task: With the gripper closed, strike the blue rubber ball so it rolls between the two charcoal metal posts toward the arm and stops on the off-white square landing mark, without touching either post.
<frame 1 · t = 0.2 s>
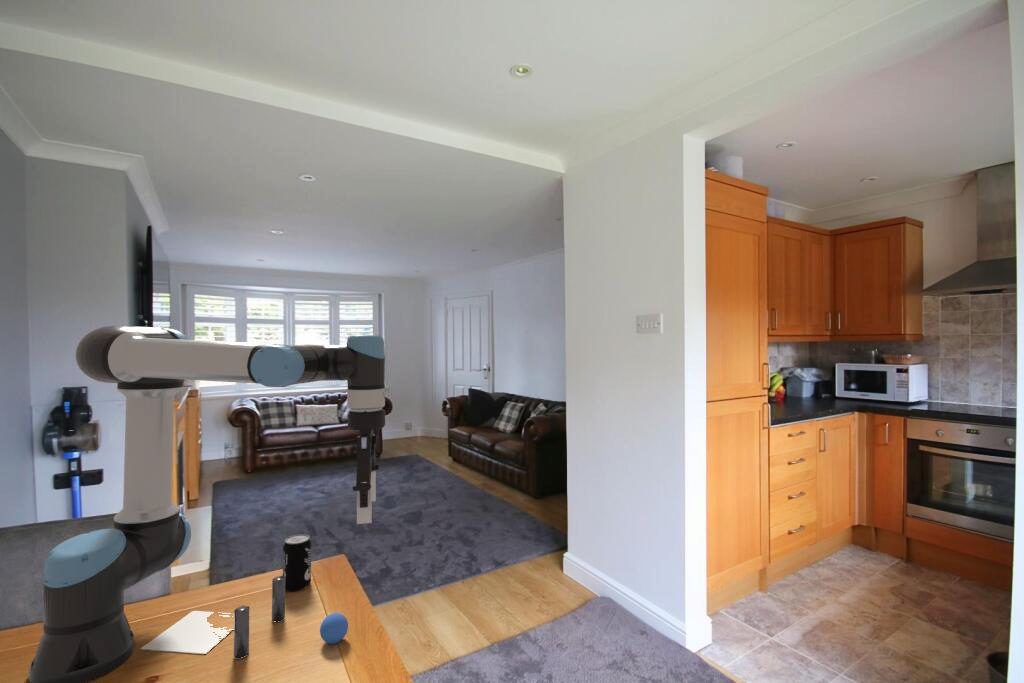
hand: (367, 511, 102), 27 cm above the table, tool pointing down, fingers open, 13 cm apart
landing mark: (198, 631, 104), on the table
post 1: (241, 654, 96), on the table
post 2: (278, 619, 109), on the table
beverage can: (296, 586, 124), on the table
ball: (334, 628, 101), on the table
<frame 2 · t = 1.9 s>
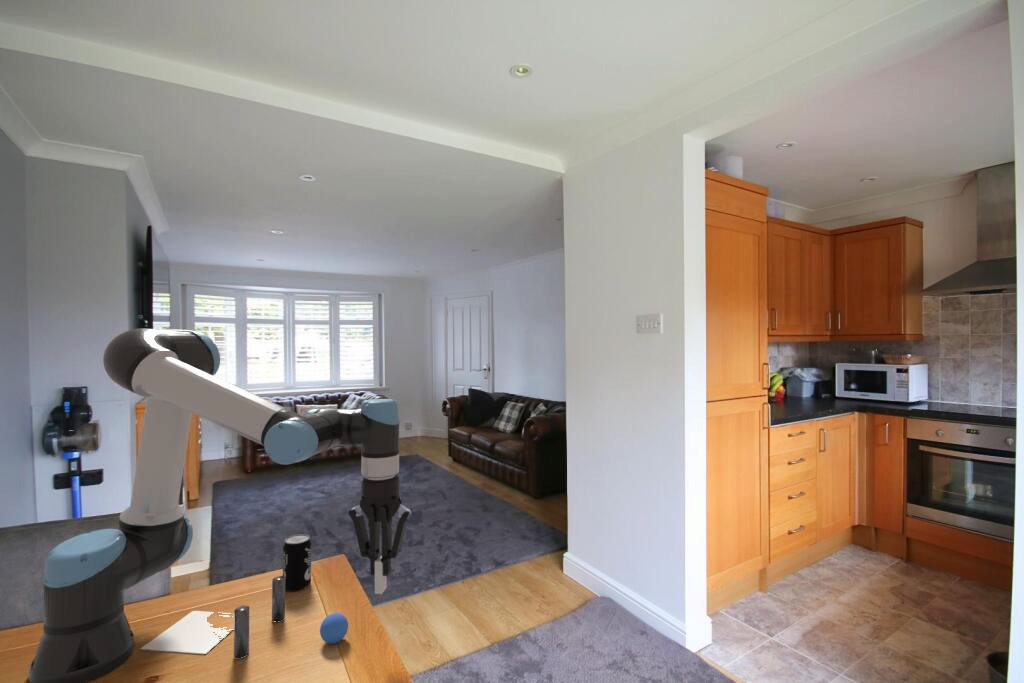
hand: (380, 590, 100), 11 cm above the table, tool pointing down, fingers closed
nothing on the table moved.
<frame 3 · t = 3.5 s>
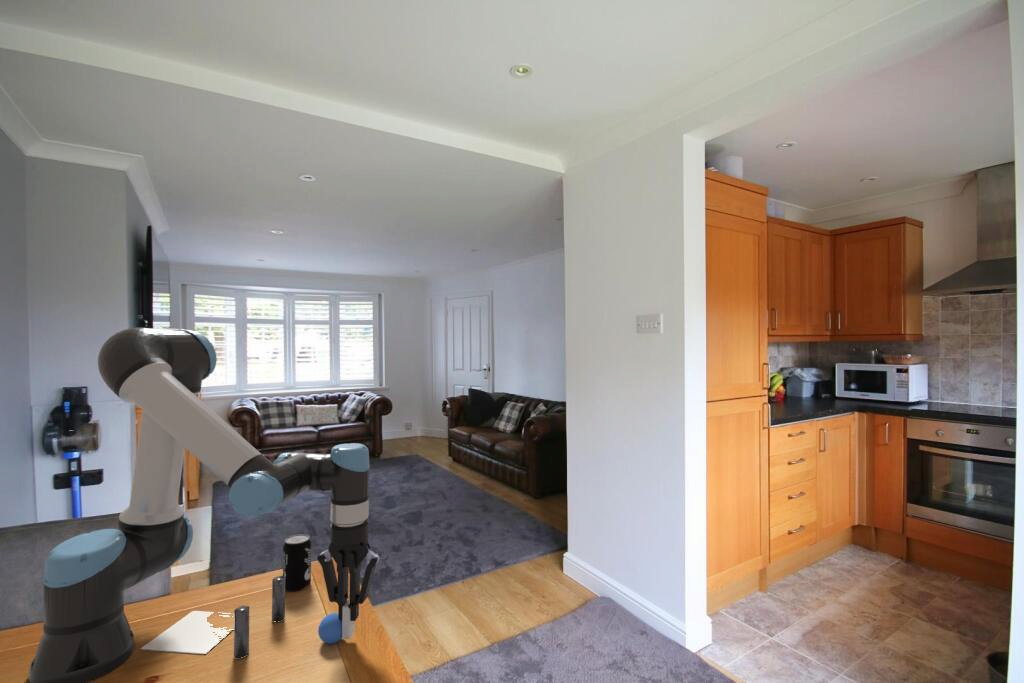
hand: (348, 635, 101), 1 cm above the table, tool pointing down, fingers closed
ball: (332, 628, 101), on the table, touching gripper
everything else where it was.
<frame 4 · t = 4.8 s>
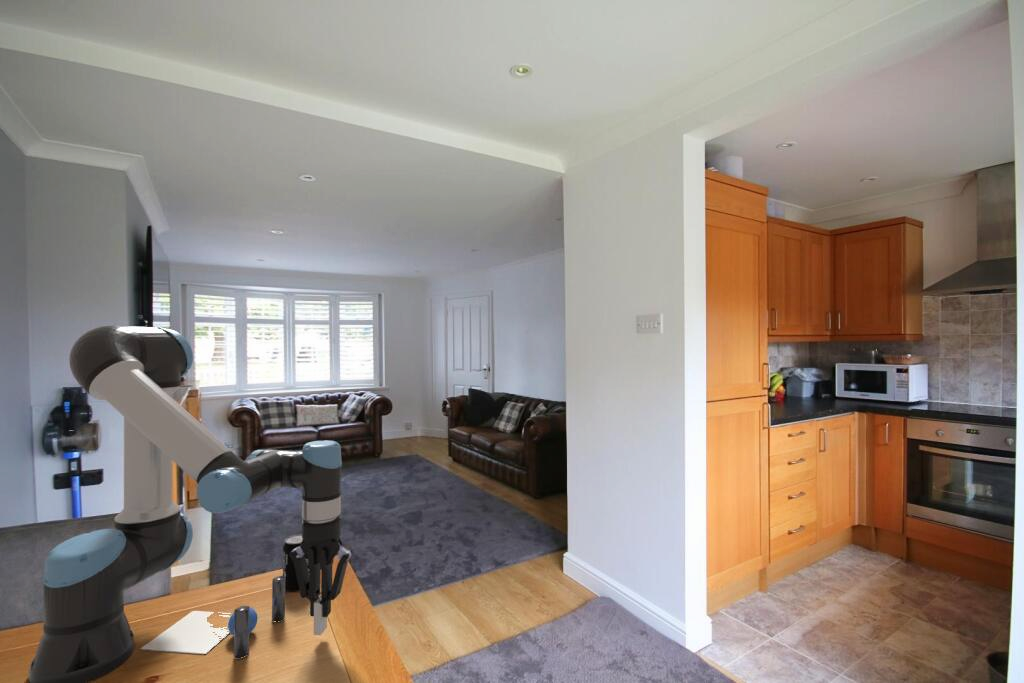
hand: (320, 631, 101), 2 cm above the table, tool pointing down, fingers closed
ball: (242, 621, 103), on the table
everything else where it was.
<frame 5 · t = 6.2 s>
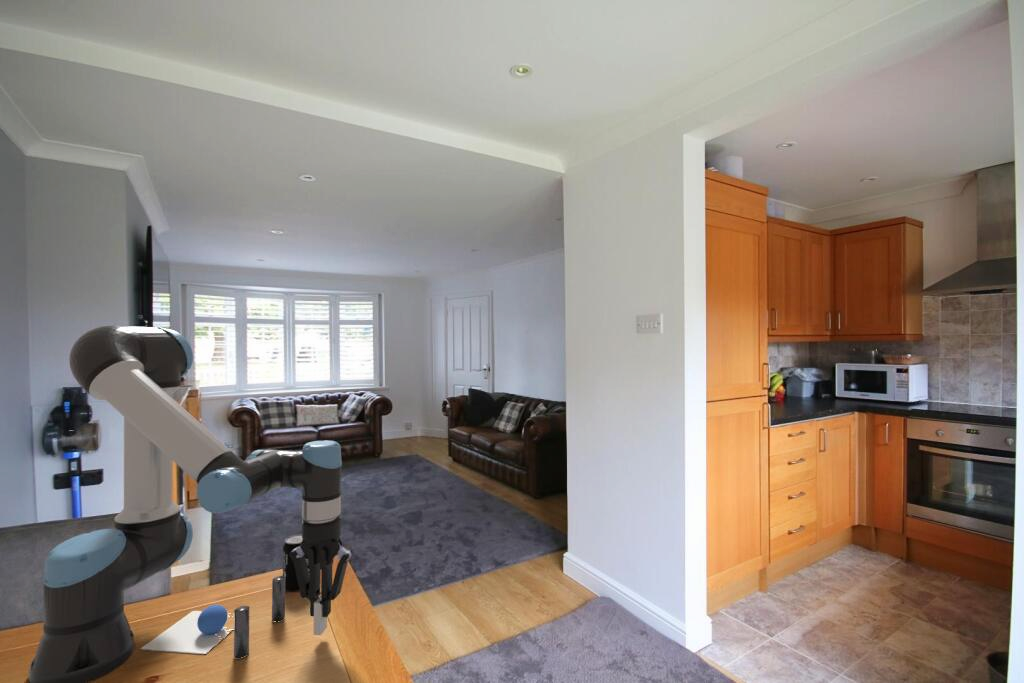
hand: (320, 631, 101), 2 cm above the table, tool pointing down, fingers closed
ball: (212, 619, 104), on the table
everything else where it was.
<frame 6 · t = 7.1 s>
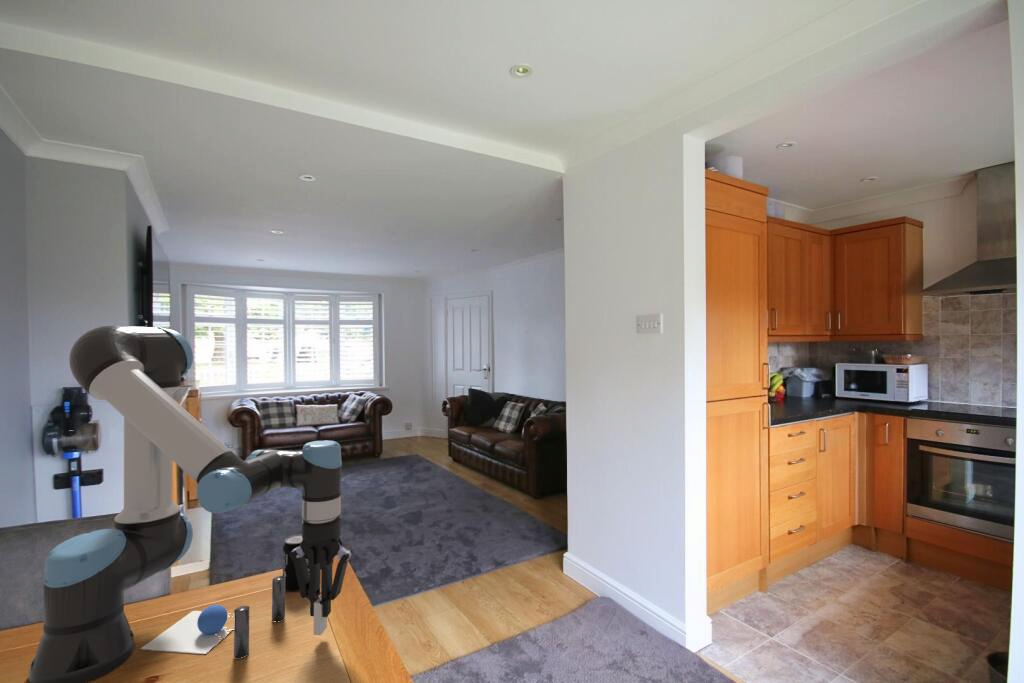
hand: (320, 631, 101), 2 cm above the table, tool pointing down, fingers closed
nothing on the table moved.
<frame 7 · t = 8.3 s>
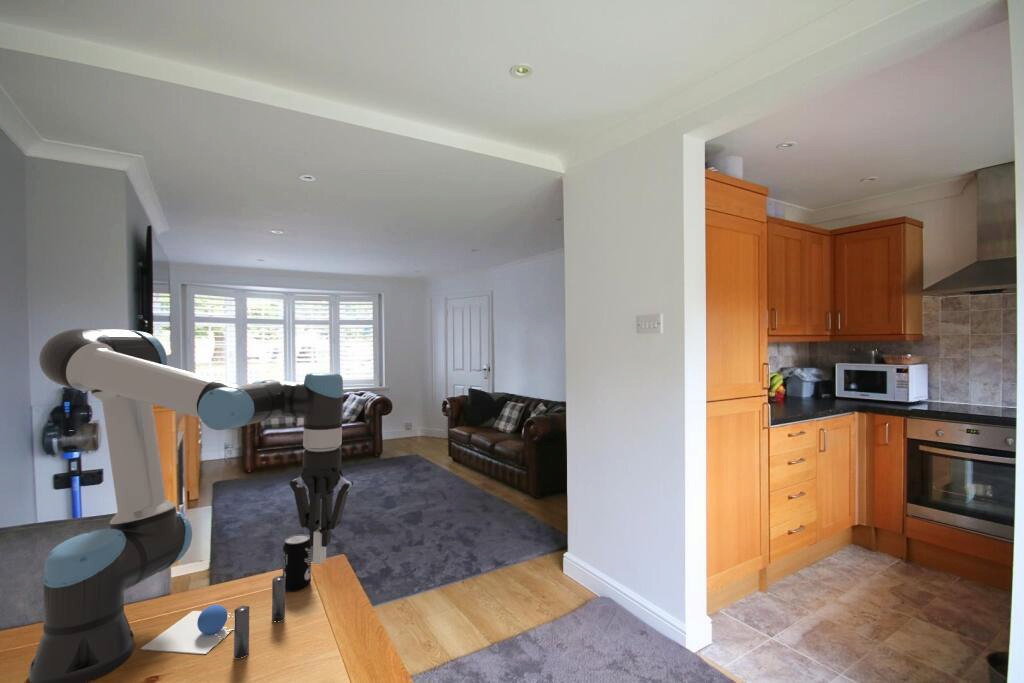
hand: (319, 561, 101), 16 cm above the table, tool pointing down, fingers closed
nothing on the table moved.
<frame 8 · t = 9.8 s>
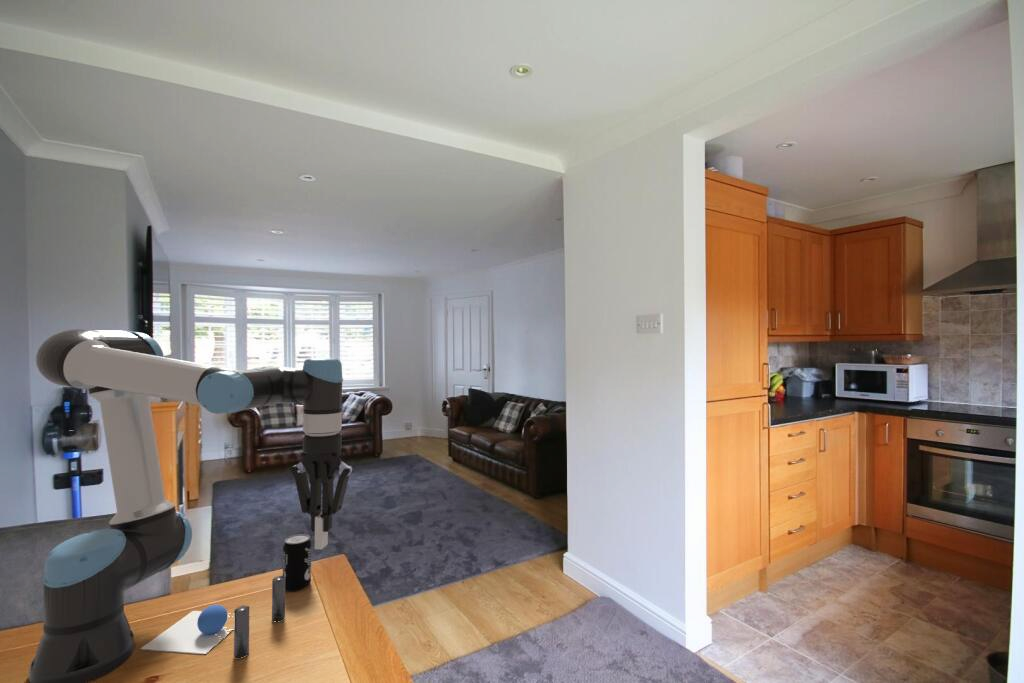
hand: (321, 546, 101), 19 cm above the table, tool pointing down, fingers closed
nothing on the table moved.
at the end: ball 3.1 cm from the landing mark (horizontally); ball never touched post 2; ball never touched post 1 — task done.
